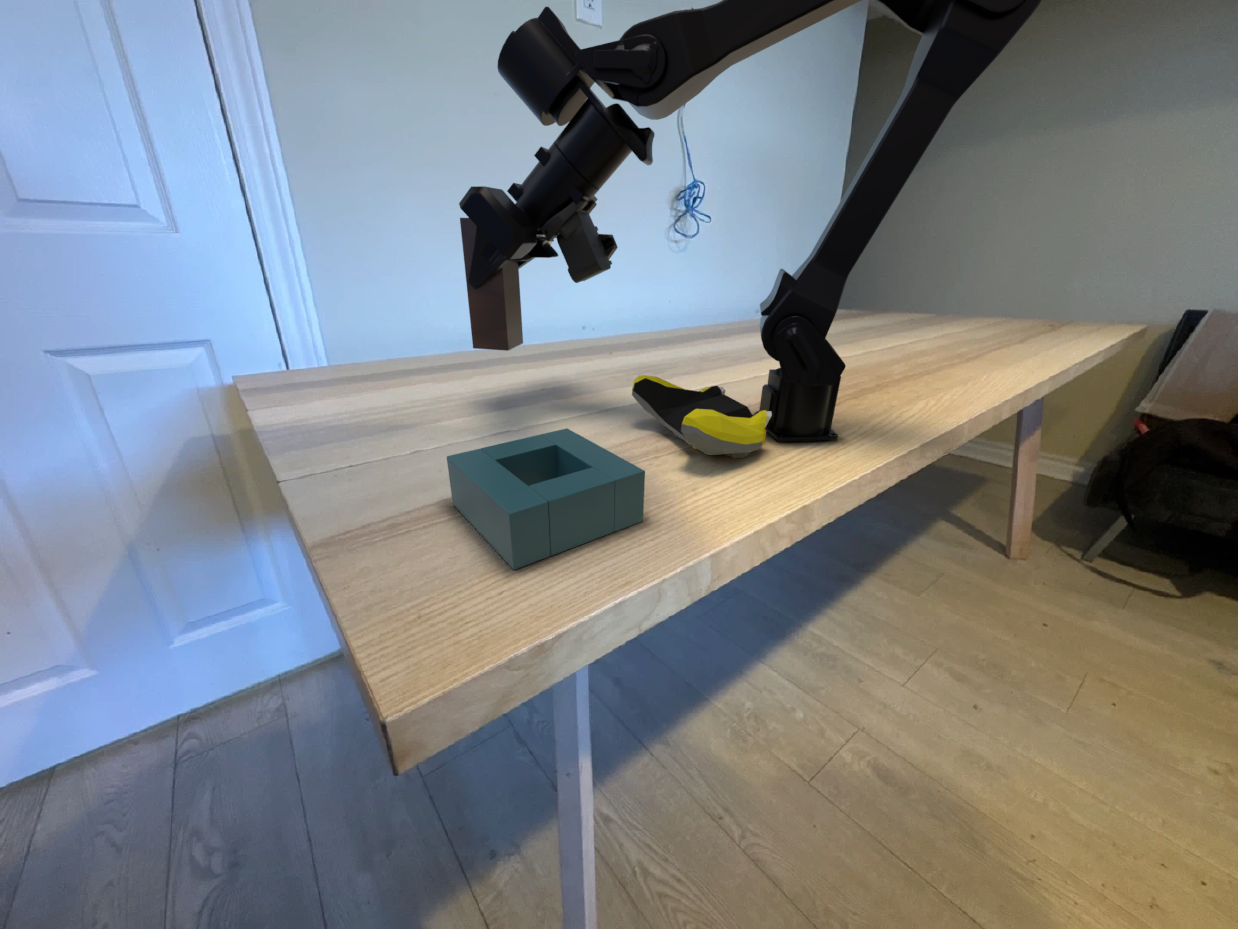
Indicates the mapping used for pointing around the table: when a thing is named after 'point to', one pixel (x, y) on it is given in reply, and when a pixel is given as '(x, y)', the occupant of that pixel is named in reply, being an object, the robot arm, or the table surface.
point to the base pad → (545, 494)
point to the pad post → (493, 301)
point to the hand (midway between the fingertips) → (481, 283)
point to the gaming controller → (703, 417)
